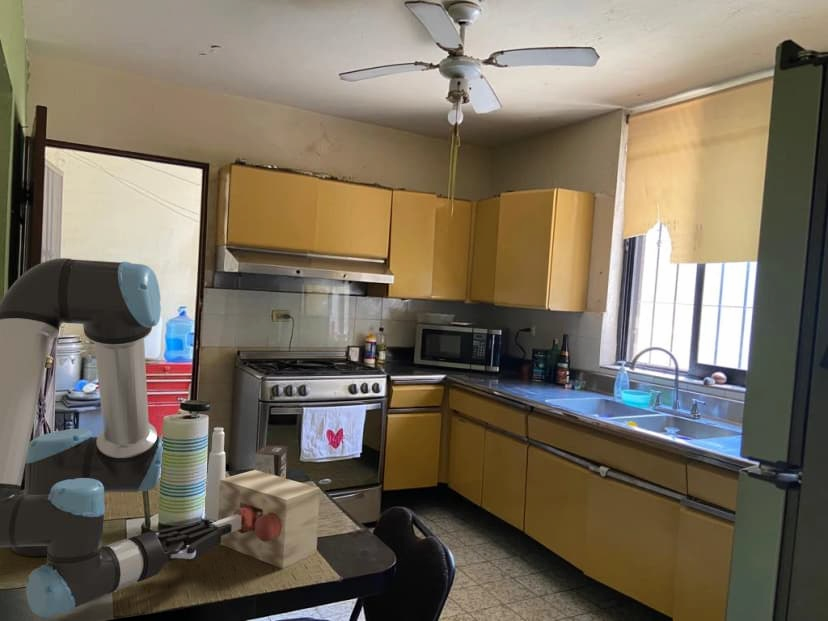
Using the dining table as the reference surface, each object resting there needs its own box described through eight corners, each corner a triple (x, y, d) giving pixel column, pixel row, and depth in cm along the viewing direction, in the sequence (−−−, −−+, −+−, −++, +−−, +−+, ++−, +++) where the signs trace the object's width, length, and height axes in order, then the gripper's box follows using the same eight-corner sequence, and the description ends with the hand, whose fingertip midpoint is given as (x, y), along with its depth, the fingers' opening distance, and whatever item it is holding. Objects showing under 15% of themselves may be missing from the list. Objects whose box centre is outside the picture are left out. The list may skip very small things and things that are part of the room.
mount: (207, 546, 127) (210, 482, 126) (251, 529, 137) (254, 469, 137) (273, 573, 116) (277, 502, 116) (316, 552, 127) (319, 488, 126)
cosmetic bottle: (231, 518, 143) (236, 429, 143) (208, 524, 138) (213, 432, 138) (219, 512, 147) (223, 424, 147) (196, 517, 142) (200, 427, 142)
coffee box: (276, 520, 144) (279, 454, 143) (250, 518, 144) (253, 453, 144) (285, 507, 153) (288, 445, 153) (260, 505, 153) (263, 444, 153)
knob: (249, 535, 120) (250, 511, 120) (232, 529, 123) (233, 506, 122) (292, 518, 130) (293, 496, 130) (276, 513, 133) (277, 491, 133)
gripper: (108, 571, 104) (216, 531, 124) (153, 594, 97) (260, 547, 117) (110, 529, 104) (218, 496, 124) (156, 549, 97) (262, 510, 117)
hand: (238, 521), depth 121 cm, fingers closed
